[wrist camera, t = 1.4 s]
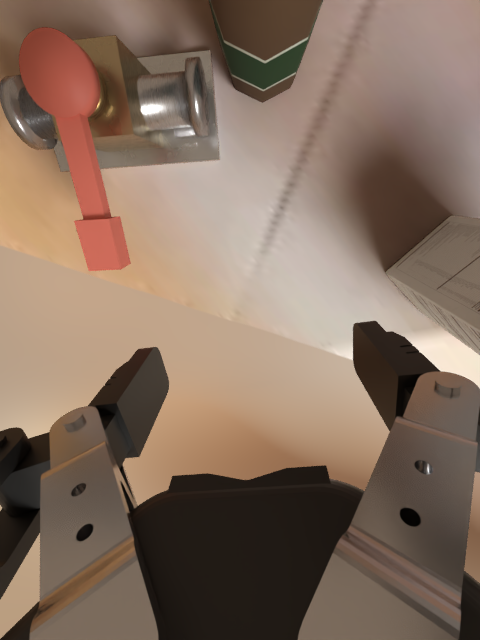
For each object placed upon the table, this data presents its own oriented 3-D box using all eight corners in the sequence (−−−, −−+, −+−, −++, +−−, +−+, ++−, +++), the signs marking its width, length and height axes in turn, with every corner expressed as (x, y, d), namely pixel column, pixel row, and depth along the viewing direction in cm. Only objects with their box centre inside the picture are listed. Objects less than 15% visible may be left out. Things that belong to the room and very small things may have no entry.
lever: (27, 44, 19) (3, 29, 17) (92, 36, 19) (74, 20, 17) (91, 265, 26) (78, 271, 24) (140, 263, 25) (131, 268, 23)
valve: (36, 72, 29) (-82, 10, 19) (211, 53, 27) (185, -24, 17) (65, 171, 32) (-20, 164, 22) (219, 160, 31) (202, 146, 21)
